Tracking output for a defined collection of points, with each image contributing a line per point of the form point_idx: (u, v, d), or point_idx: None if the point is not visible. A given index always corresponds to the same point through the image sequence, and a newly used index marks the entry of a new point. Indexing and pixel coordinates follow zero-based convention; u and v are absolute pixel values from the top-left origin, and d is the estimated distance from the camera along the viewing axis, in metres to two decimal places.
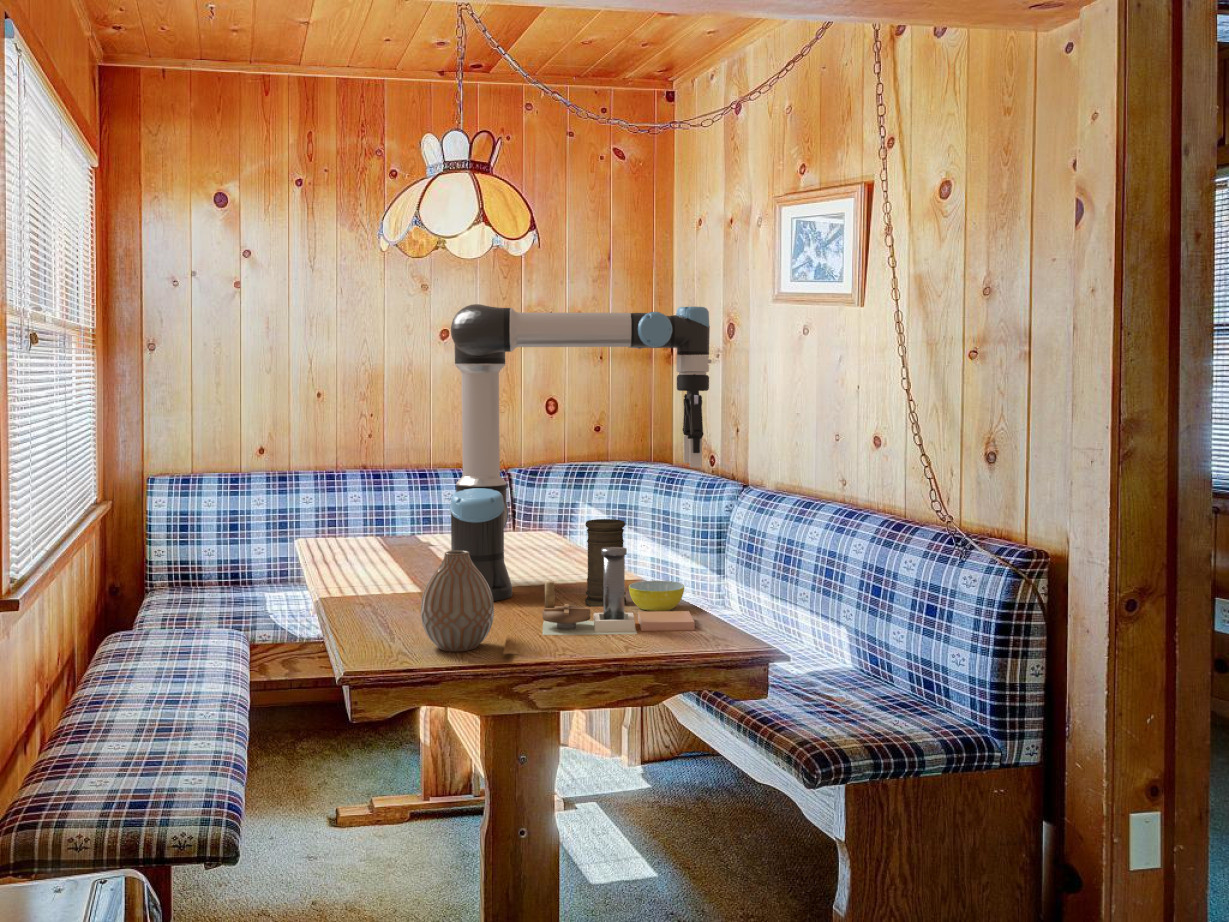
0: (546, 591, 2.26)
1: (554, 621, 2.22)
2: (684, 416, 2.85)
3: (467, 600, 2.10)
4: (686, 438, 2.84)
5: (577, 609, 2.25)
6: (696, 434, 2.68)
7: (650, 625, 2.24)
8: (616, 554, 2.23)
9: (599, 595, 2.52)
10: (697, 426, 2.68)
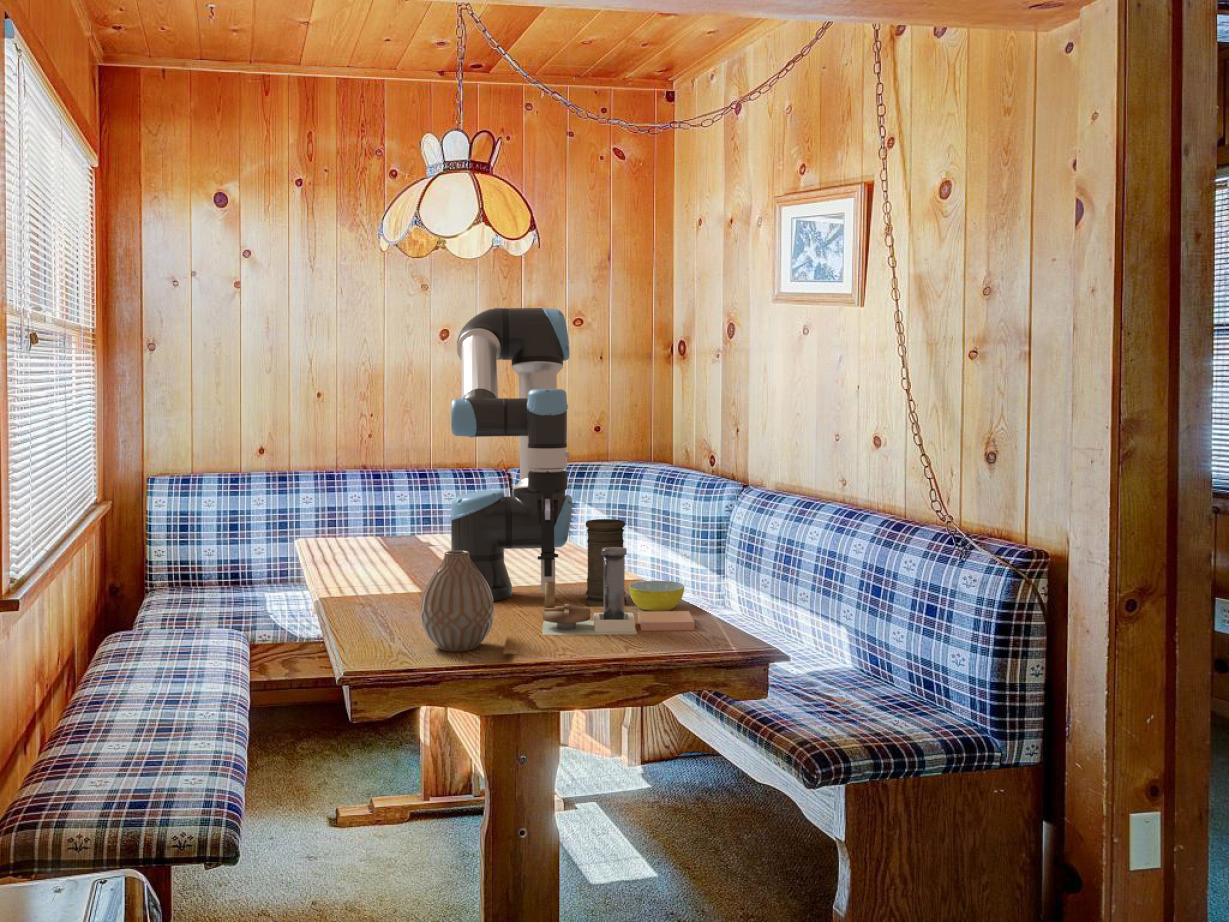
0: (546, 591, 2.26)
1: (554, 621, 2.22)
2: None
3: (467, 600, 2.10)
4: (544, 562, 2.28)
5: (577, 609, 2.25)
6: (546, 557, 2.25)
7: (650, 625, 2.24)
8: (616, 554, 2.23)
9: (599, 595, 2.52)
10: (548, 548, 2.24)
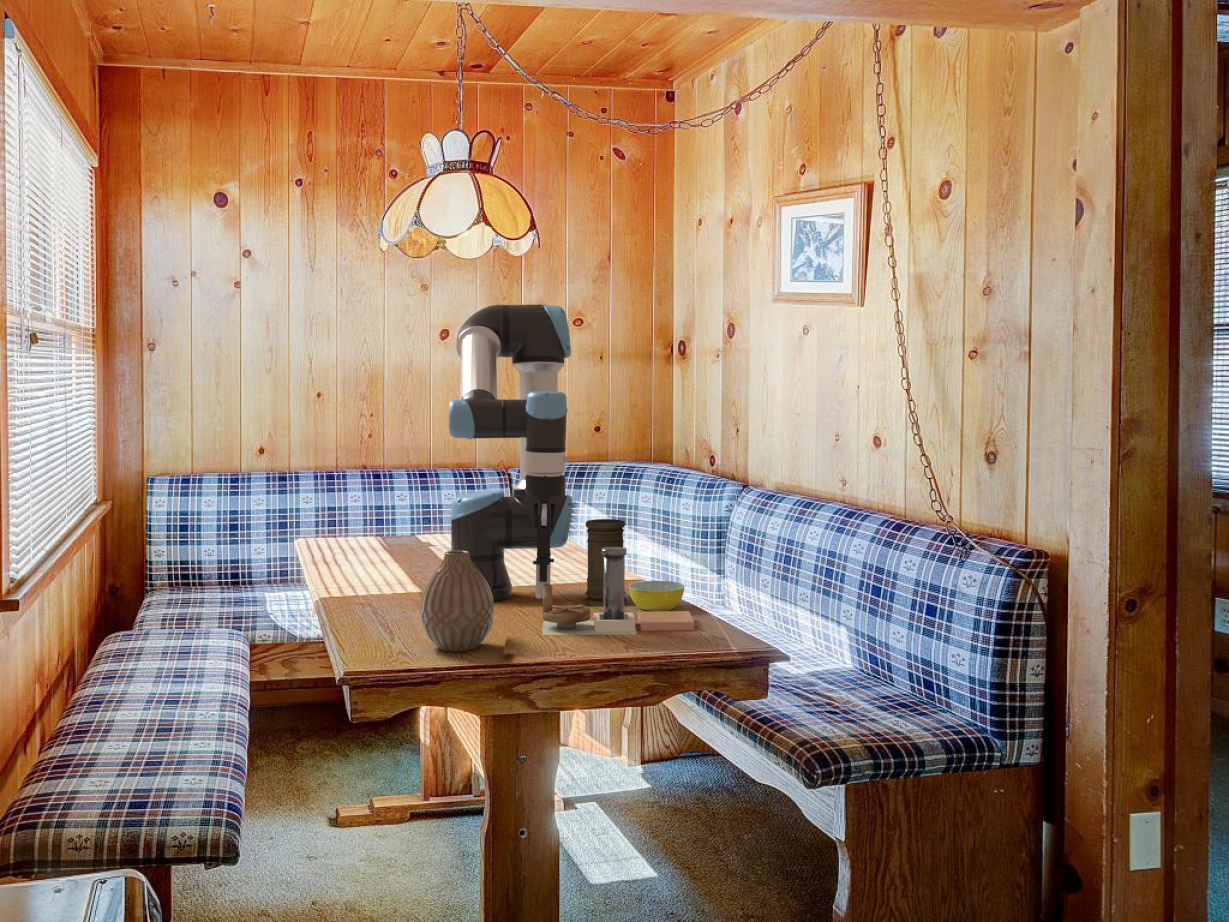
0: (548, 594, 2.23)
1: (572, 621, 2.21)
2: None
3: (467, 600, 2.10)
4: None
5: (575, 607, 2.27)
6: (541, 562, 2.22)
7: (650, 625, 2.24)
8: (616, 554, 2.23)
9: (599, 595, 2.52)
10: (543, 553, 2.21)
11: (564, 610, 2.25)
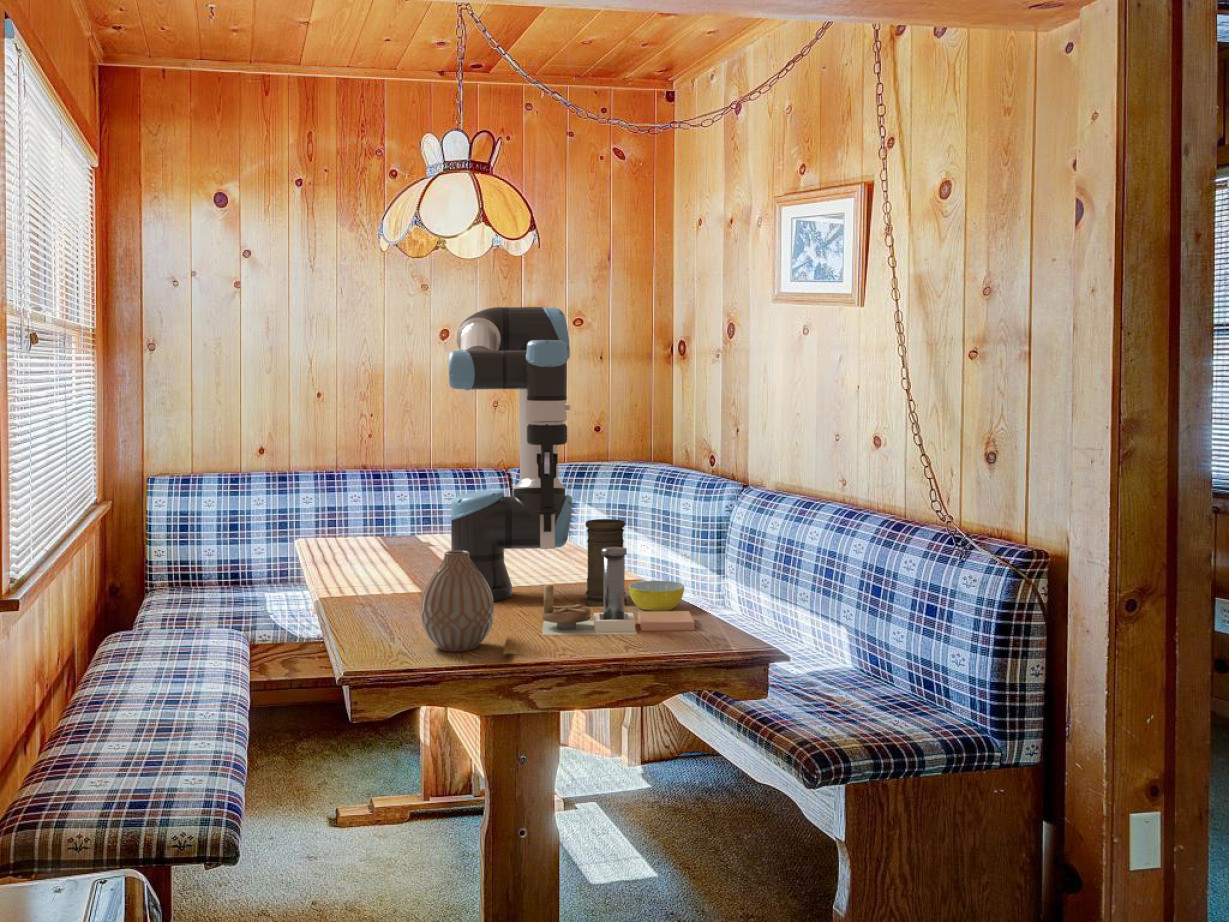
0: (550, 595, 2.23)
1: (576, 621, 2.22)
2: None
3: (467, 600, 2.10)
4: None
5: (574, 607, 2.27)
6: (545, 511, 2.20)
7: (650, 625, 2.24)
8: (616, 554, 2.23)
9: (599, 595, 2.52)
10: (547, 502, 2.20)
11: (565, 610, 2.25)
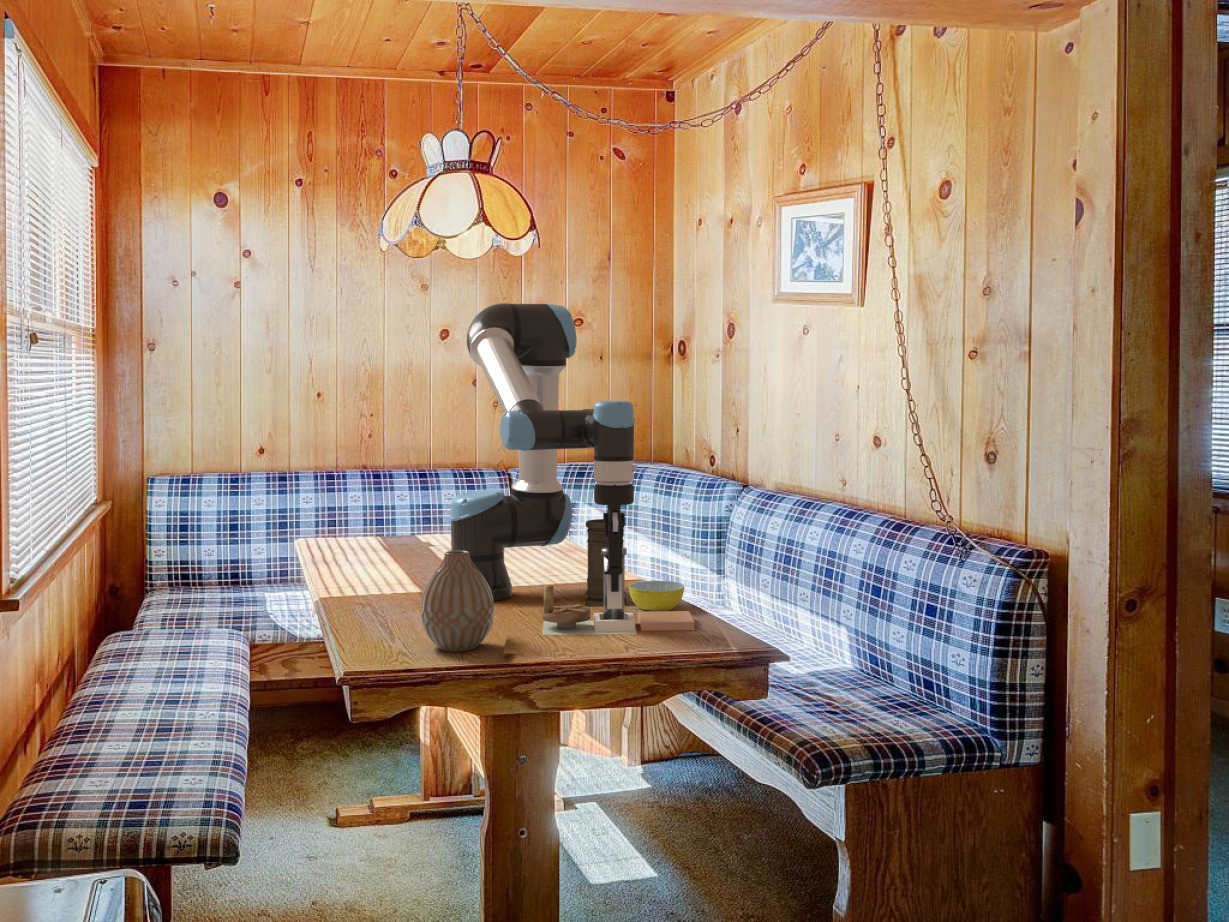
0: (550, 595, 2.23)
1: (576, 621, 2.22)
2: (606, 540, 2.30)
3: (467, 600, 2.10)
4: None
5: (574, 607, 2.27)
6: (613, 571, 2.20)
7: (650, 625, 2.24)
8: None
9: (599, 595, 2.52)
10: (615, 562, 2.20)
11: (565, 610, 2.25)
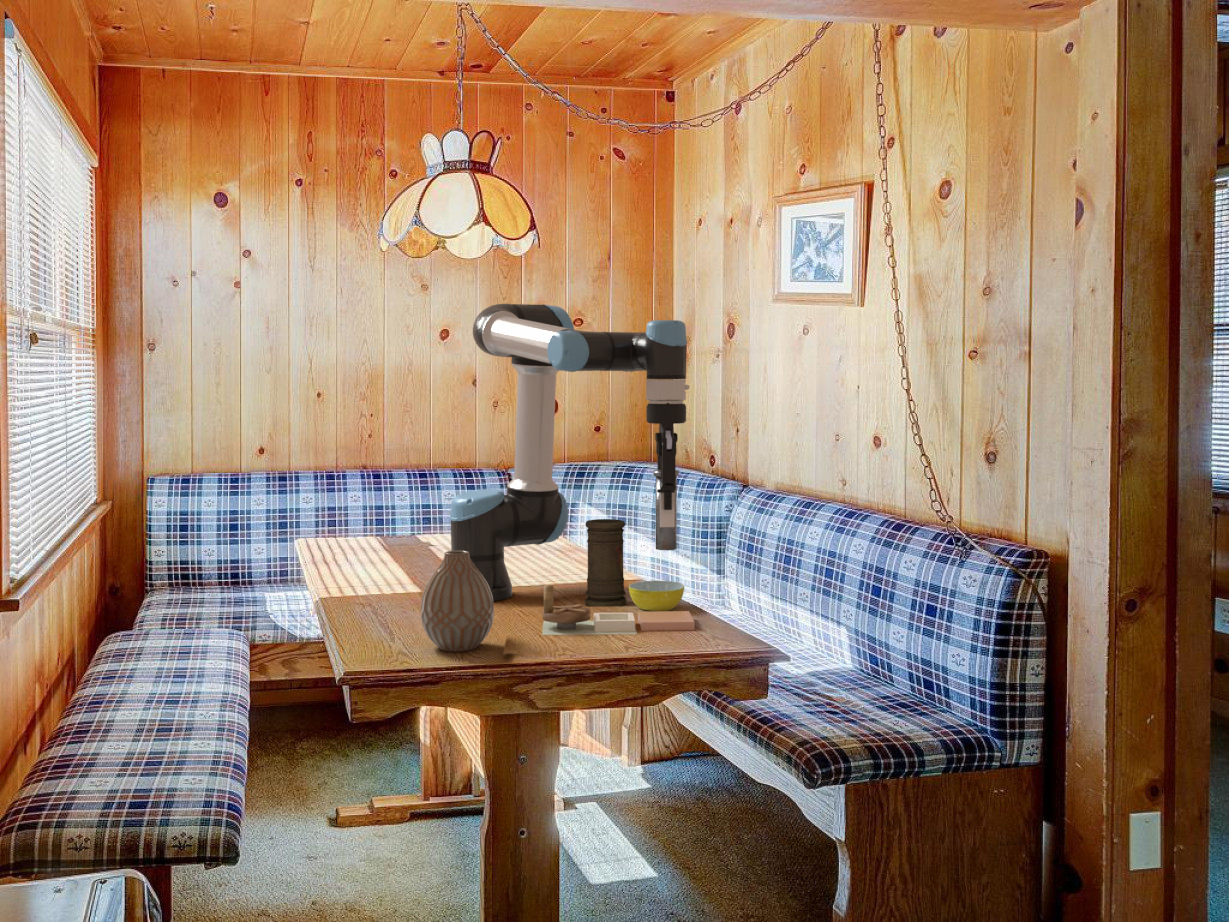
0: (550, 595, 2.23)
1: (576, 621, 2.22)
2: (658, 462, 2.31)
3: (467, 600, 2.10)
4: None
5: (574, 607, 2.27)
6: (667, 489, 2.21)
7: (650, 625, 2.24)
8: None
9: (599, 595, 2.52)
10: (669, 479, 2.21)
11: (565, 610, 2.25)
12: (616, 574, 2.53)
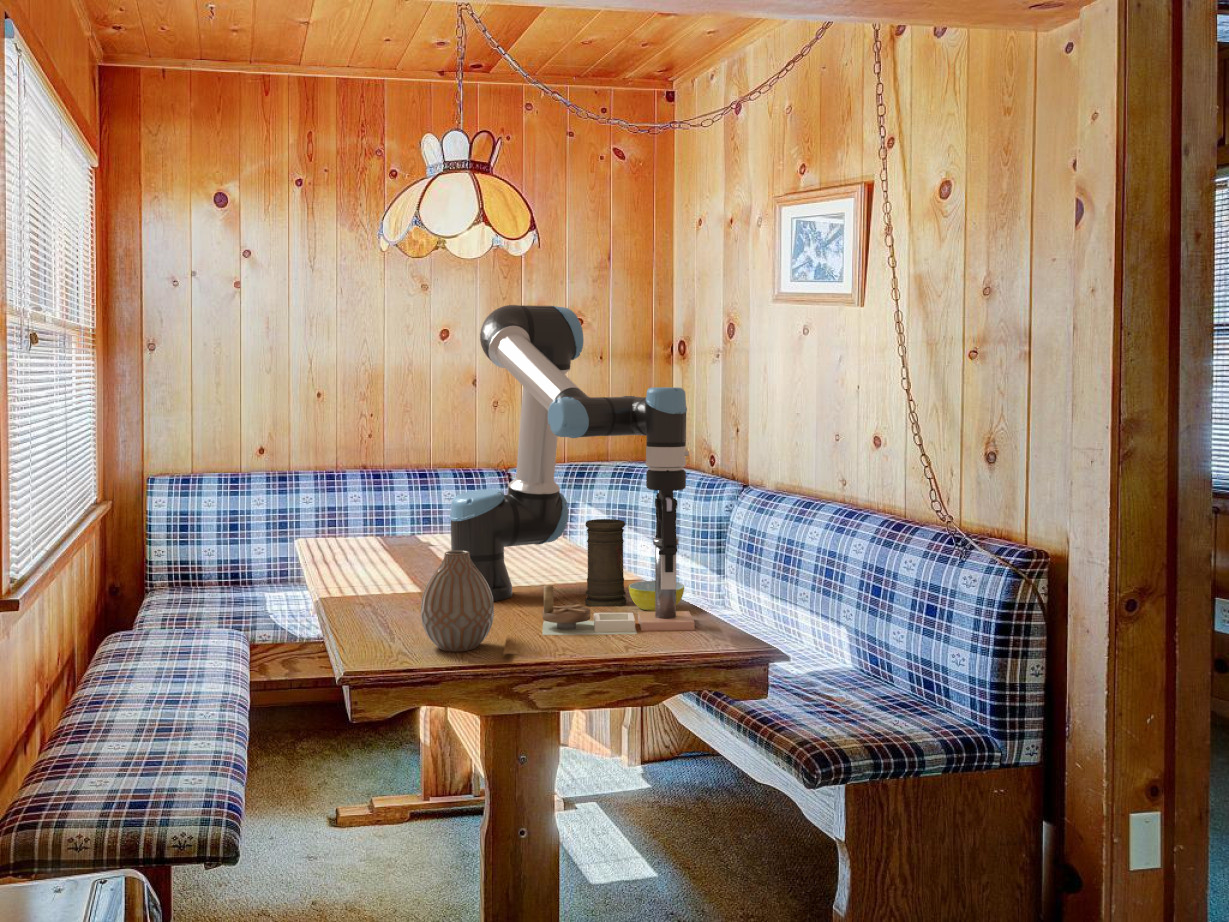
0: (550, 595, 2.23)
1: (576, 621, 2.22)
2: (657, 520, 2.34)
3: (467, 600, 2.10)
4: None
5: (574, 607, 2.27)
6: (668, 551, 2.19)
7: (650, 625, 2.24)
8: None
9: (599, 595, 2.52)
10: (670, 540, 2.19)
11: (565, 610, 2.25)
12: (616, 574, 2.53)
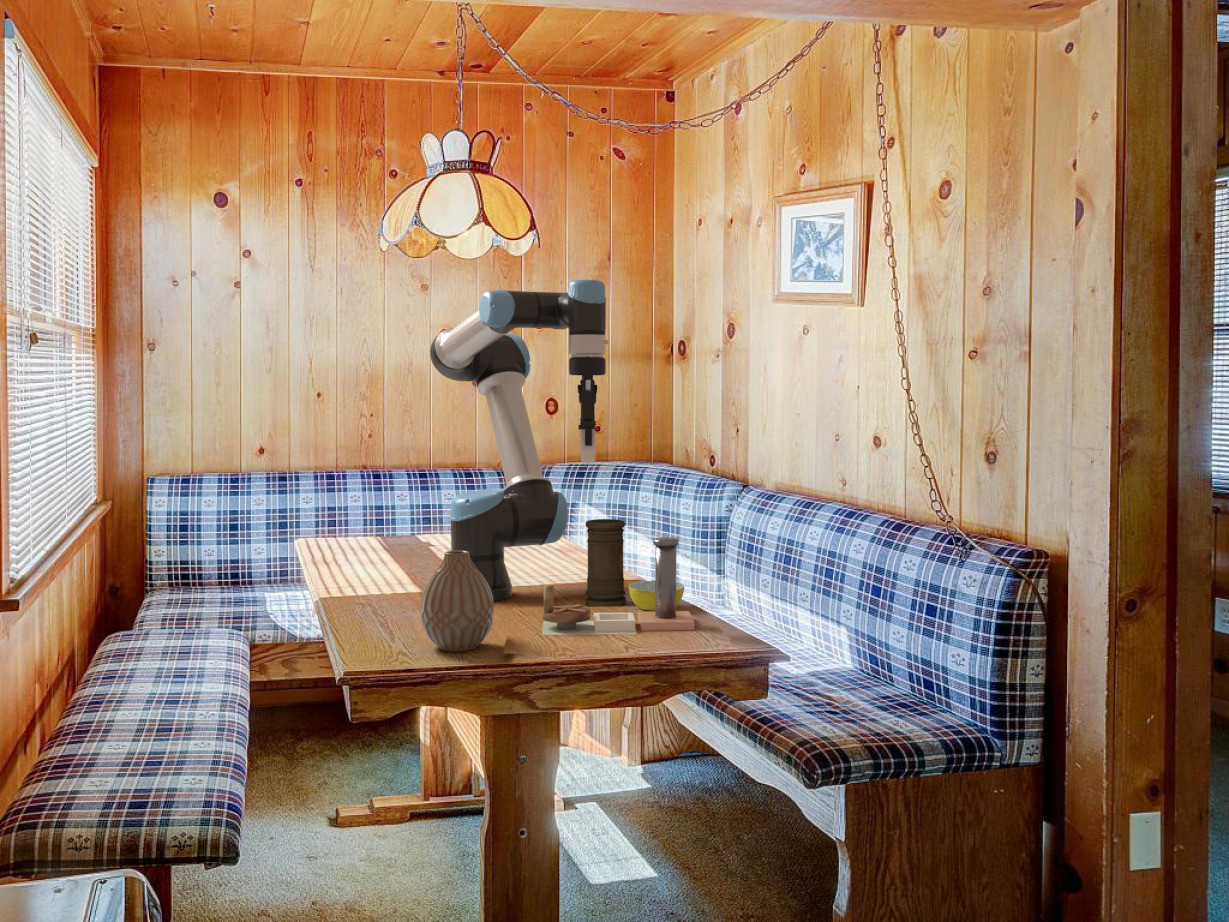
0: (550, 595, 2.23)
1: (576, 621, 2.22)
2: None
3: (467, 600, 2.10)
4: None
5: (574, 607, 2.27)
6: (587, 424, 2.35)
7: (650, 625, 2.24)
8: (668, 544, 2.25)
9: (599, 595, 2.52)
10: (588, 415, 2.36)
11: (565, 610, 2.25)
12: (616, 574, 2.53)
